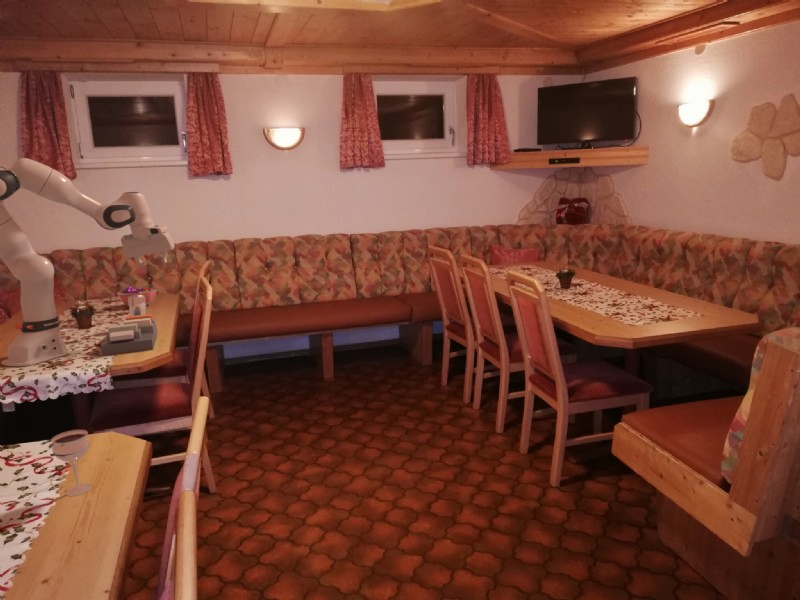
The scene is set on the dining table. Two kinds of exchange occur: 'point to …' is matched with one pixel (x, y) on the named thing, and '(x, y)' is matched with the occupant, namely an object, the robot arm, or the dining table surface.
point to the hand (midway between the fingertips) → (153, 264)
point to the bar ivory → (139, 322)
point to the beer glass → (137, 305)
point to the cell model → (129, 291)
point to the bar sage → (123, 328)
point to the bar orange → (139, 317)
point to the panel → (132, 341)
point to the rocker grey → (121, 335)
